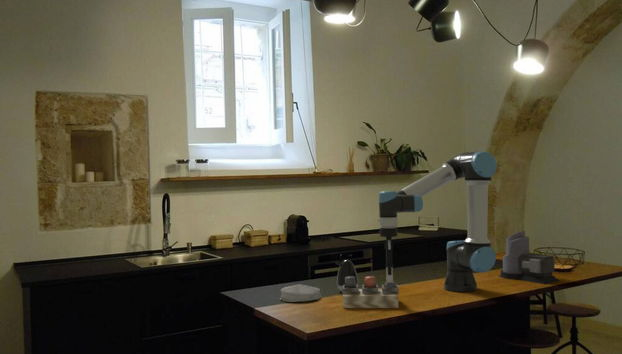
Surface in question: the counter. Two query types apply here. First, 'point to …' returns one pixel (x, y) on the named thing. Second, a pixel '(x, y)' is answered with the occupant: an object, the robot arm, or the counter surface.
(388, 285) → the cap
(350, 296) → the console
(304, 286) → the food container
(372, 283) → the middle cap
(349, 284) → the cap
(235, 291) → the counter surface
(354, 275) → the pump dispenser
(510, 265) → the juicer
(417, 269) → the counter surface
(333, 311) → the counter surface
